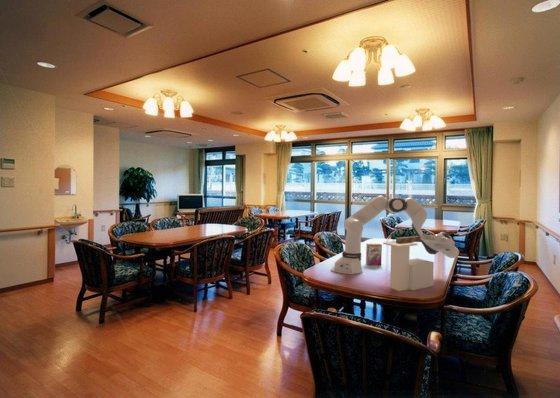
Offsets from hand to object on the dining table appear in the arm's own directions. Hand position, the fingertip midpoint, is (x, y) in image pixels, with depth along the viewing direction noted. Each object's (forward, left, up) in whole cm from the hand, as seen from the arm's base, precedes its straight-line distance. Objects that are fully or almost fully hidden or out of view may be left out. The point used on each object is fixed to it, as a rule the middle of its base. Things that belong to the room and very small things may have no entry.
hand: (429, 235), depth 205 cm
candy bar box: (-38, +36, -31) cm, 61 cm away
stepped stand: (-12, -15, -31) cm, 36 cm away
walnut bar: (-12, -15, -3) cm, 20 cm away
